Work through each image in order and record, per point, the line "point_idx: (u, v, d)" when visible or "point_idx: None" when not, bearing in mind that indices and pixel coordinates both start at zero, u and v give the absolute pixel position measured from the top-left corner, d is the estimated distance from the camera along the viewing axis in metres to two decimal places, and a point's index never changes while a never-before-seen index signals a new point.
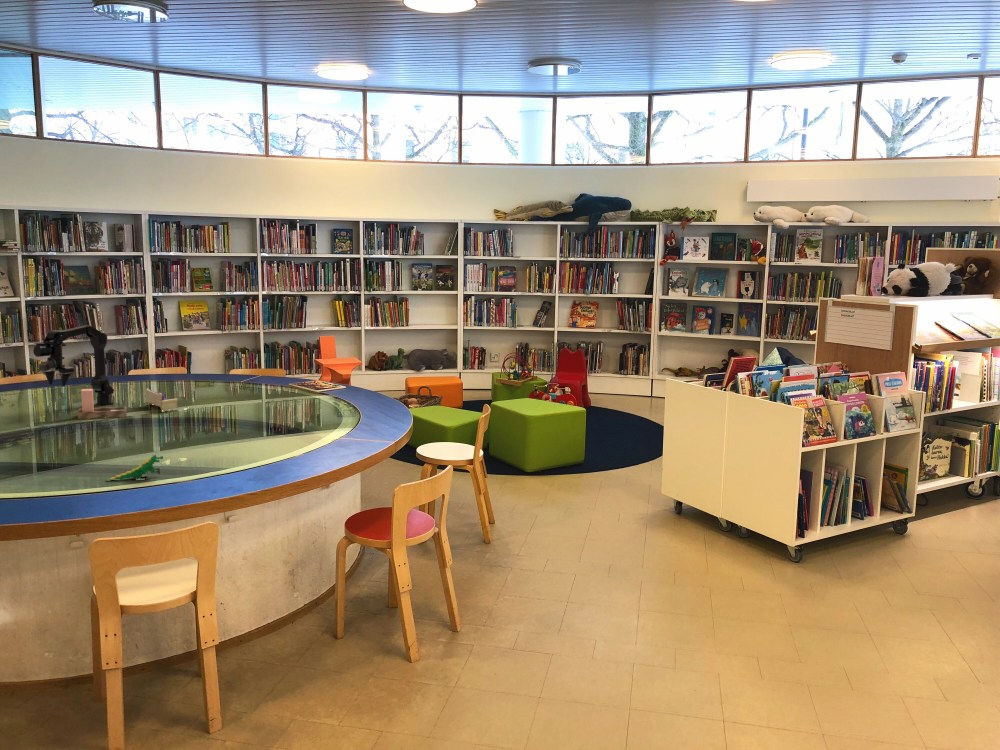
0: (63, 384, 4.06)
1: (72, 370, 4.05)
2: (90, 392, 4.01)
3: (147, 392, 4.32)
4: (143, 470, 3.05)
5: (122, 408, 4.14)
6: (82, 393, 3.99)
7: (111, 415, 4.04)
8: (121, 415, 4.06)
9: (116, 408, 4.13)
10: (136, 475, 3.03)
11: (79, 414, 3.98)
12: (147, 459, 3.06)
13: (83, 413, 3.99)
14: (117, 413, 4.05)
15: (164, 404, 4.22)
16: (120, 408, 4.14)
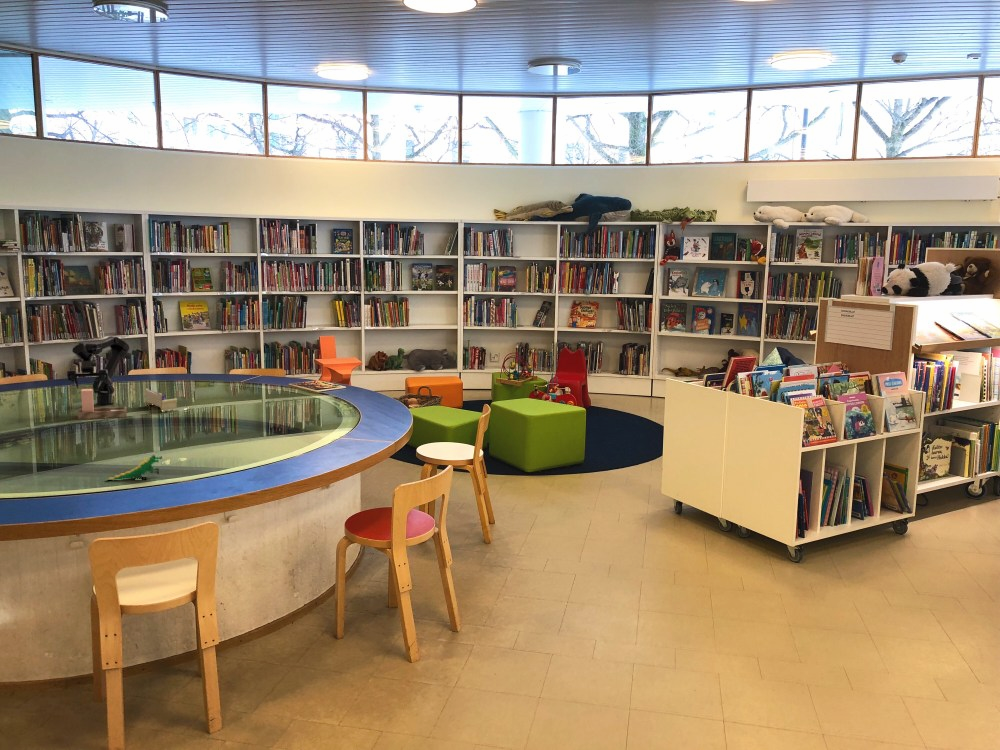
0: (98, 386, 4.12)
1: (107, 376, 4.19)
2: (90, 392, 4.01)
3: (146, 392, 4.32)
4: (142, 470, 3.05)
5: (122, 408, 4.14)
6: (82, 393, 3.99)
7: (111, 415, 4.04)
8: (121, 415, 4.06)
9: (116, 408, 4.13)
10: (135, 475, 3.03)
11: (79, 414, 3.98)
12: (146, 459, 3.06)
13: (83, 413, 3.99)
14: (117, 413, 4.05)
15: (164, 404, 4.22)
16: (120, 408, 4.14)
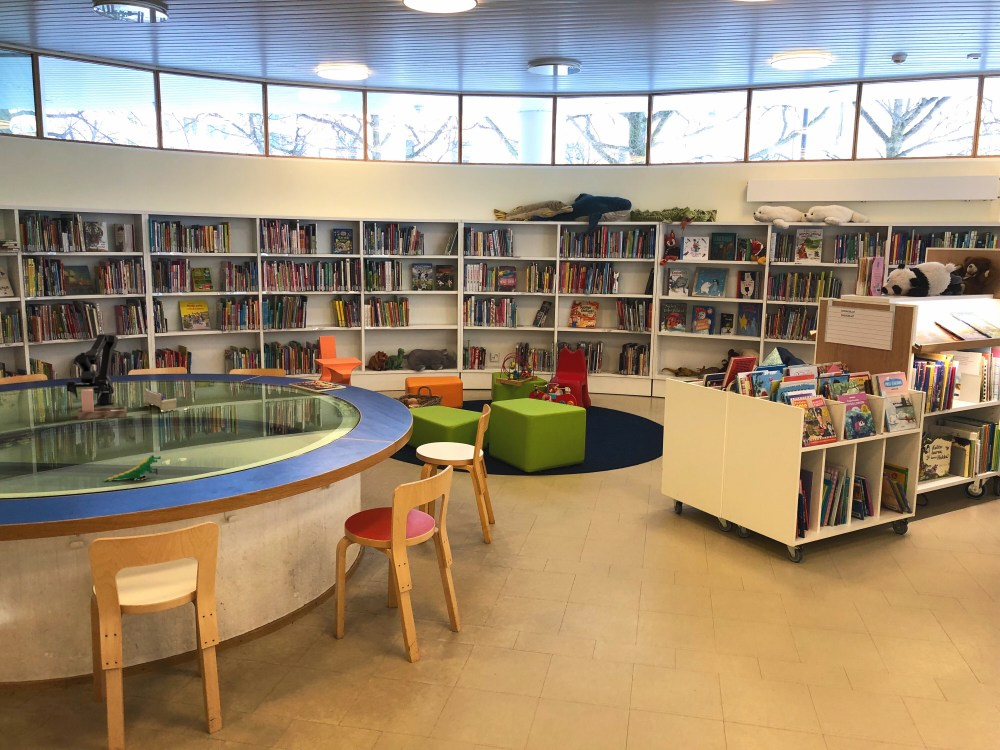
0: (98, 396, 4.06)
1: (107, 387, 4.13)
2: (90, 392, 4.01)
3: (146, 392, 4.31)
4: (141, 470, 3.05)
5: (122, 408, 4.14)
6: (82, 393, 3.99)
7: (111, 415, 4.04)
8: (121, 415, 4.06)
9: (116, 408, 4.13)
10: (134, 475, 3.03)
11: (79, 414, 3.98)
12: (145, 459, 3.06)
13: (83, 413, 3.99)
14: (117, 413, 4.05)
15: (163, 404, 4.22)
16: (120, 408, 4.14)
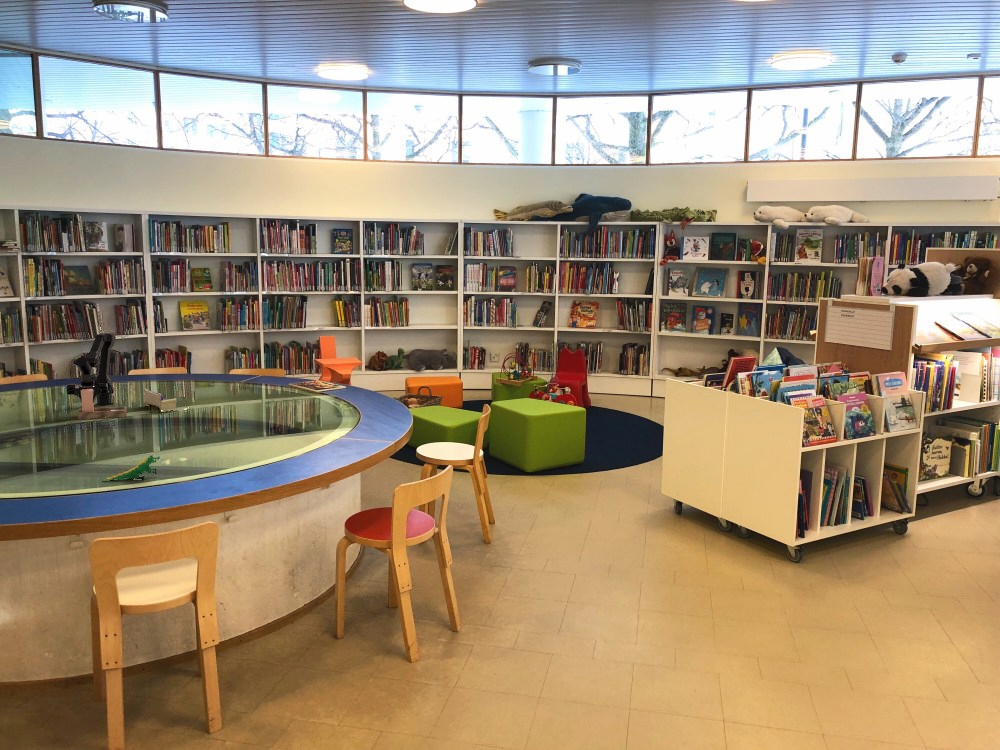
0: (94, 400, 4.04)
1: (108, 390, 4.12)
2: (90, 392, 4.01)
3: (145, 392, 4.31)
4: (140, 470, 3.05)
5: (122, 408, 4.14)
6: (82, 393, 3.99)
7: (111, 415, 4.04)
8: (121, 415, 4.06)
9: (116, 408, 4.13)
10: (133, 475, 3.02)
11: (79, 414, 3.98)
12: (144, 459, 3.06)
13: (83, 413, 3.99)
14: (117, 413, 4.05)
15: (163, 404, 4.22)
16: (120, 408, 4.14)
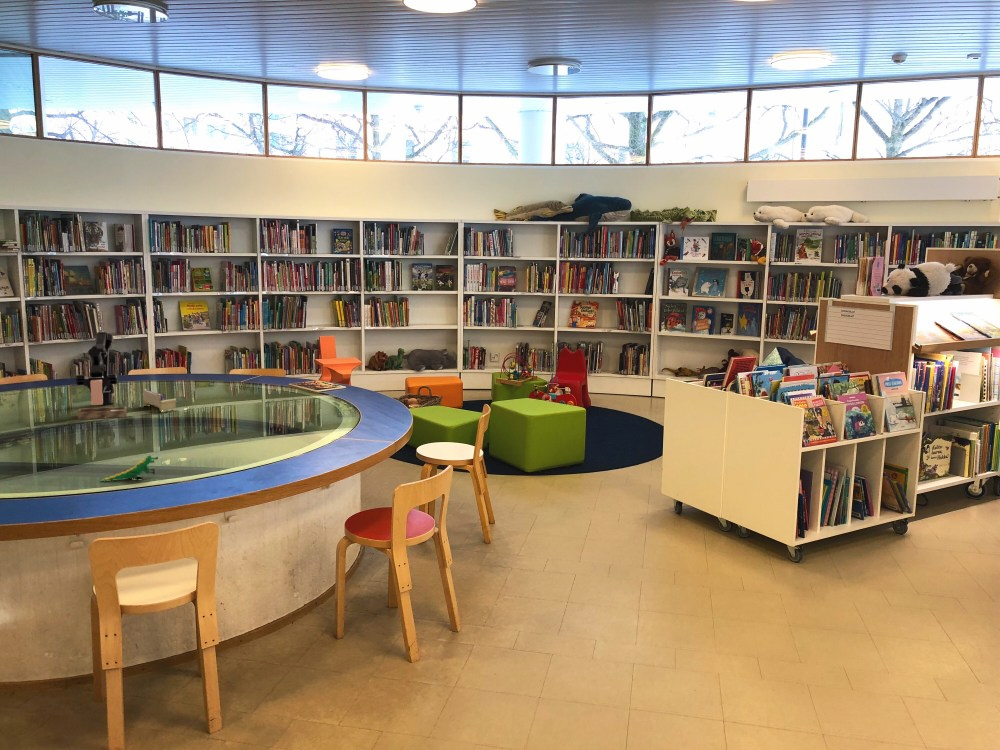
0: (103, 391, 4.05)
1: None
2: (99, 383, 4.02)
3: (145, 392, 4.30)
4: (138, 470, 3.05)
5: (122, 408, 4.14)
6: (91, 384, 4.01)
7: (111, 415, 4.04)
8: (121, 415, 4.06)
9: (116, 408, 4.13)
10: (131, 475, 3.02)
11: (79, 414, 3.98)
12: None
13: (83, 413, 3.99)
14: (117, 413, 4.05)
15: (163, 404, 4.21)
16: (120, 408, 4.14)
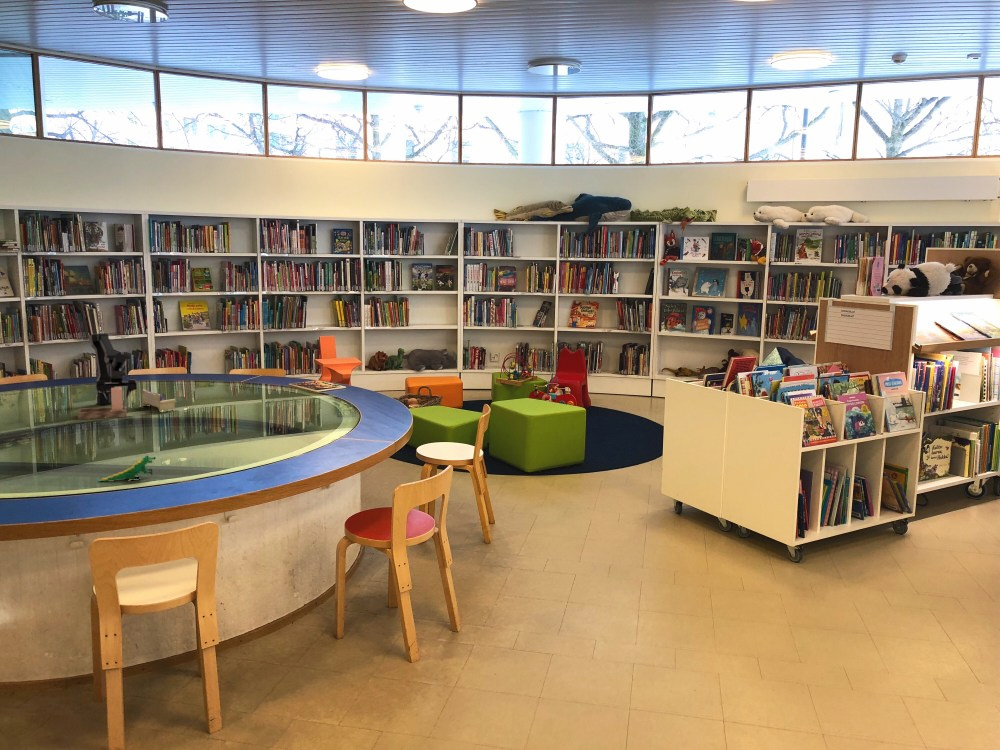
0: (127, 396, 4.10)
1: (136, 386, 4.17)
2: (120, 390, 4.07)
3: (144, 393, 4.30)
4: (135, 471, 3.04)
5: None
6: (112, 391, 4.05)
7: (111, 415, 4.04)
8: (121, 415, 4.06)
9: None
10: (128, 476, 3.02)
11: (79, 414, 3.98)
12: None
13: (83, 413, 3.99)
14: (117, 413, 4.05)
15: (162, 405, 4.21)
16: None
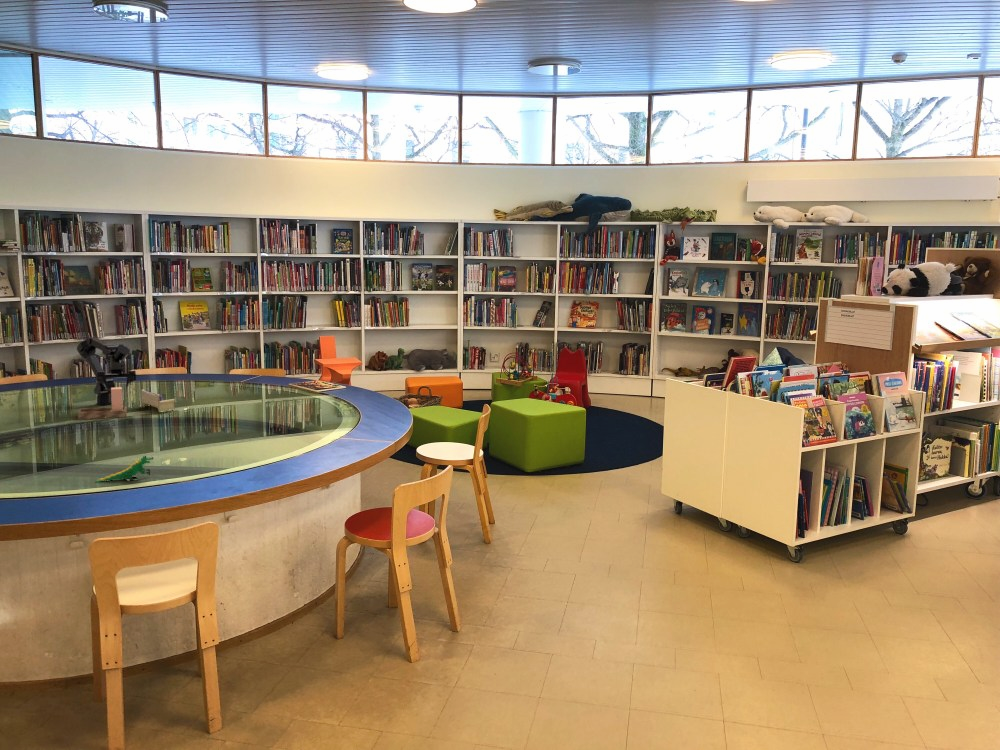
0: (127, 386, 4.18)
1: None
2: (120, 390, 4.07)
3: (143, 393, 4.29)
4: (133, 471, 3.04)
5: None
6: (112, 391, 4.05)
7: (111, 415, 4.04)
8: (121, 415, 4.06)
9: None
10: (126, 476, 3.01)
11: (79, 414, 3.98)
12: (137, 460, 3.05)
13: (83, 413, 3.99)
14: (117, 413, 4.05)
15: (161, 405, 4.20)
16: None
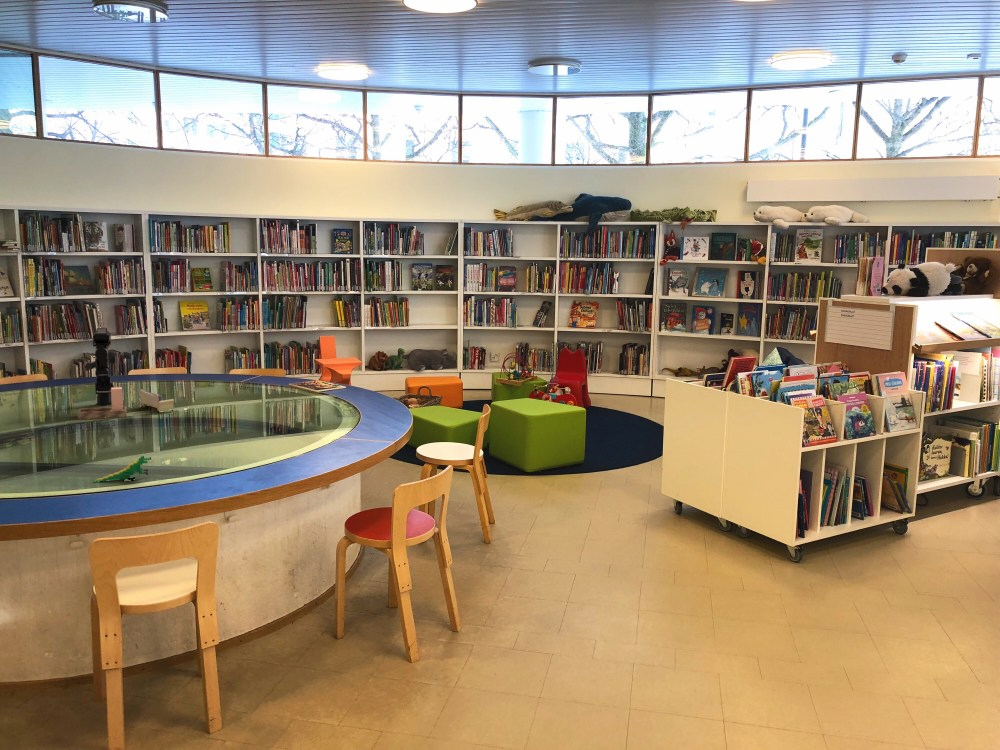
0: (102, 385, 4.15)
1: (105, 372, 4.11)
2: (120, 390, 4.07)
3: (142, 393, 4.29)
4: (131, 471, 3.04)
5: None
6: (112, 391, 4.05)
7: (111, 415, 4.04)
8: (121, 415, 4.06)
9: None
10: (124, 476, 3.01)
11: (79, 414, 3.98)
12: (135, 460, 3.04)
13: (83, 413, 3.99)
14: (117, 413, 4.05)
15: (161, 405, 4.20)
16: None
